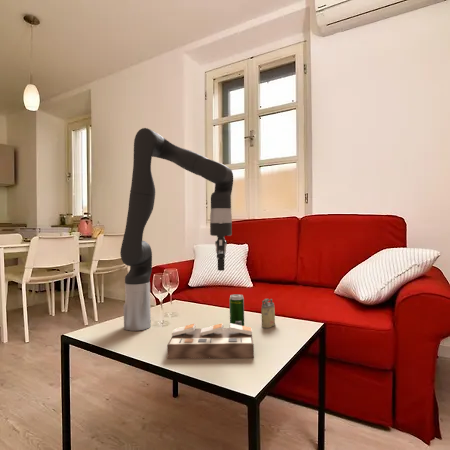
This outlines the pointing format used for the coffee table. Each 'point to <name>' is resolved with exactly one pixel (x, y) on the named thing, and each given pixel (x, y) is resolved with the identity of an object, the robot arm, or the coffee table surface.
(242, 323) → the beer can
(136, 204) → the robot arm
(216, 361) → the coffee table surface
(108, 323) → the coffee table surface
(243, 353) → the switch console
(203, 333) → the rocker middle
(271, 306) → the lighter
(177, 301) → the coffee table surface
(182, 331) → the rocker left
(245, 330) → the rocker right
